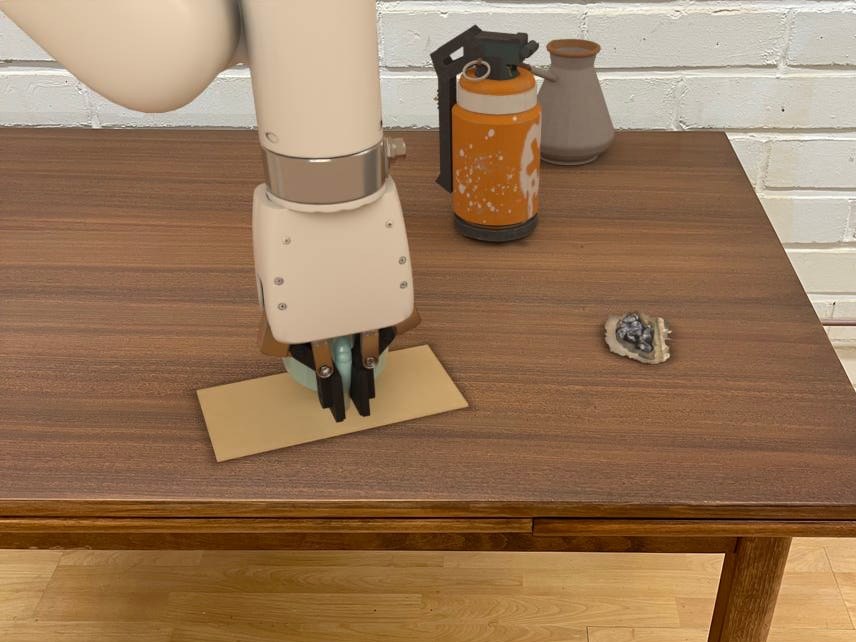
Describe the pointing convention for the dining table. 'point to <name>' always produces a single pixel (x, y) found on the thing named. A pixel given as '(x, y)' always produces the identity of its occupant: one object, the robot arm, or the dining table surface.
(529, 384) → the dining table surface
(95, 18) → the robot arm
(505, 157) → the canister
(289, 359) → the teal coffee mug
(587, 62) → the coffee pot
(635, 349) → the mineral specimen
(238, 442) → the mat
